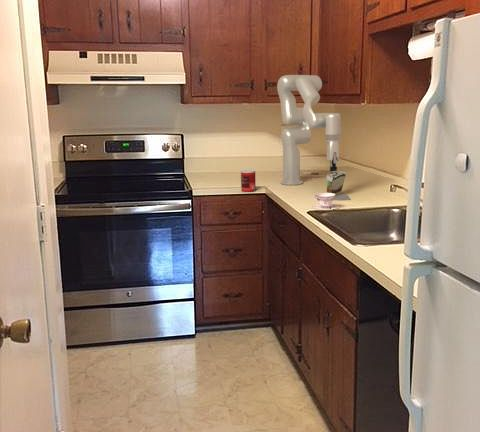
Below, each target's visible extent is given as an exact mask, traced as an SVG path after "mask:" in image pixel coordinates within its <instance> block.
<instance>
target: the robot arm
mask: <svg viewBox="0 0 480 432" xmlns="http://www.w3.org/2000/svg"><path fill="white" fill-rule="evenodd" d="M276 85H277V86H276V87H277V94H278V97H279V100H280V101H279V102H280V110H281V120H282V122H283V124H284V125H286V126H290V127H286V128H284V129H282V131H281V132H280V133H281V135H280V138H281V142H282V165H283V166H282V180H280V185H285V186H298V185H302V184H303V180H301V151H300V149H299V147H298V146H297V145H302V144H304V145H305V144H308V143H310V141H311V139H312V129H325V142H327V143H326V161H328V162H329V172H331V171H338V163H337V162H338V161H340V144H339V143H340V142H341V141H342V138H341V137H342V136H341V133H342V131H341V130H342V126H341V125H342V123H341V121H342V118H341V117H342V116H341V114H340V113H339V112H336V113H334V112H333V113H331V112H324V113H323V112H320V113H315V112H314V111H313V108H312V107H314V106H315V105H316V104H317V103H319V102H320V99H321V96H320V94H319V91H320V90H321V89H322V88H323V81H322V79H321V77H320V76H318V75H315V74H313V75H311V74H310V75H309V74H286V75H282V76H281V77H280V78H279V79H278V81H277V84H276ZM292 91H294V92H295V91H297V92H298V93H299V95H300V97H301V98H302V100H303V103H304V104H303V107H297V100H296V97H295V95H294V94H293V93H292ZM291 126H292V127H291ZM293 126H294V127H293Z"/></svg>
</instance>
